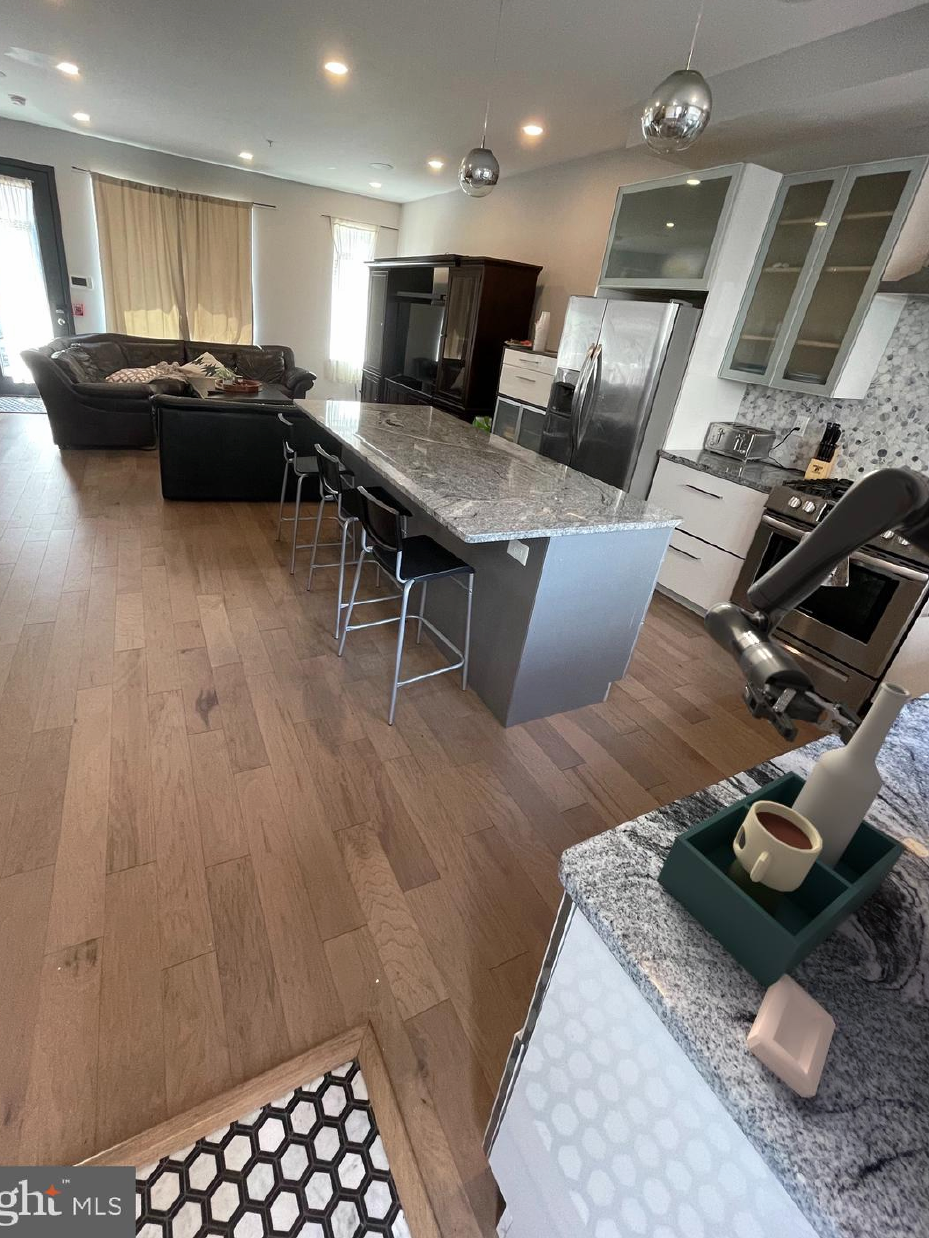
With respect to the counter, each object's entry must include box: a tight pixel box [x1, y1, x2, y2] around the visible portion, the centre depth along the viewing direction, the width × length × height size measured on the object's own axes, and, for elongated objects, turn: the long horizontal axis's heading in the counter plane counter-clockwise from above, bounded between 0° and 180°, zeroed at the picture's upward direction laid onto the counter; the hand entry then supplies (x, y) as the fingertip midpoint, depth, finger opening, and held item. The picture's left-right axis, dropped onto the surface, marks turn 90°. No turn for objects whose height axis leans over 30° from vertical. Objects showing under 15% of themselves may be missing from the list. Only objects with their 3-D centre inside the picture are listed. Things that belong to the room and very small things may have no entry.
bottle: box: [791, 681, 912, 870], centre depth 68 cm, size 7×7×28 cm
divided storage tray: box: [656, 770, 907, 991], centre depth 69 cm, size 27×14×7 cm, turn 121°
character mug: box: [724, 801, 822, 919], centre depth 64 cm, size 11×7×13 cm, turn 131°
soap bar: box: [746, 974, 836, 1099], centre depth 54 cm, size 5×9×2 cm, turn 134°
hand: (827, 744), depth 72 cm, fingers open, 8 cm apart
